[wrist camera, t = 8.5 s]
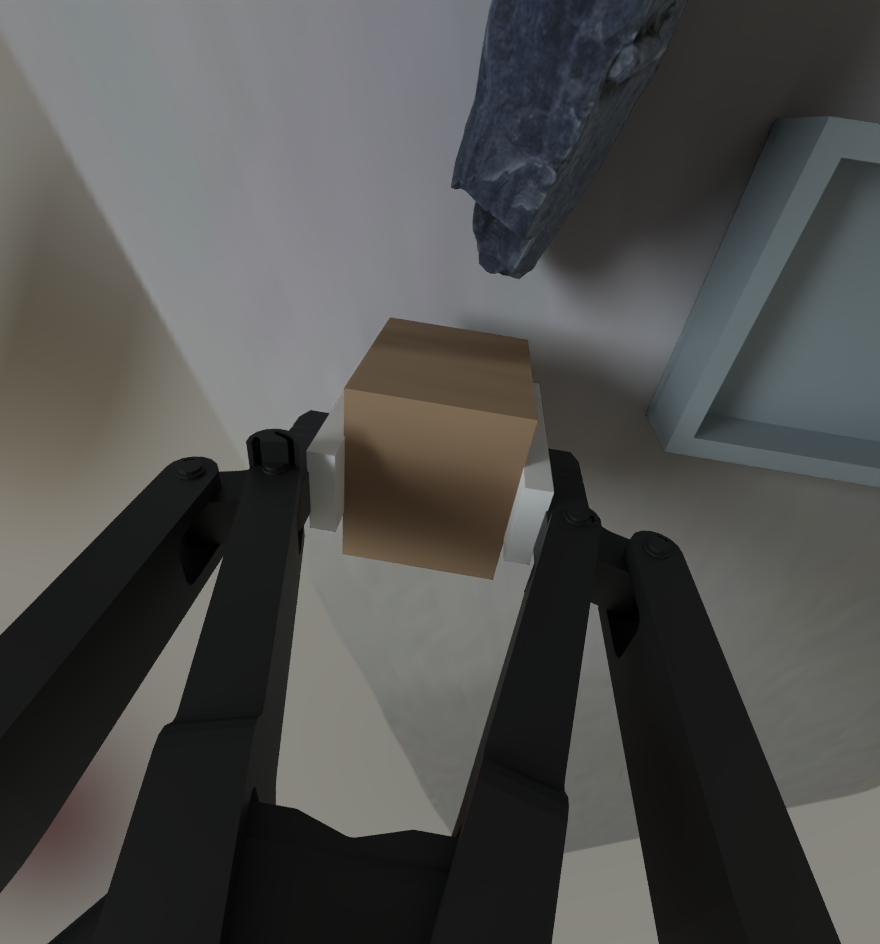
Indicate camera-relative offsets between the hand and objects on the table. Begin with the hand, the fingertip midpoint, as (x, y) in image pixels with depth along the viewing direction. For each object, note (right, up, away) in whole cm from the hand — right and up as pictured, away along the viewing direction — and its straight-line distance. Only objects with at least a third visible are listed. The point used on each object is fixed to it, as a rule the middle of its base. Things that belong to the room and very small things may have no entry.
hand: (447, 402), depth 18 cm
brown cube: (0, 0, +1) cm, 1 cm away
